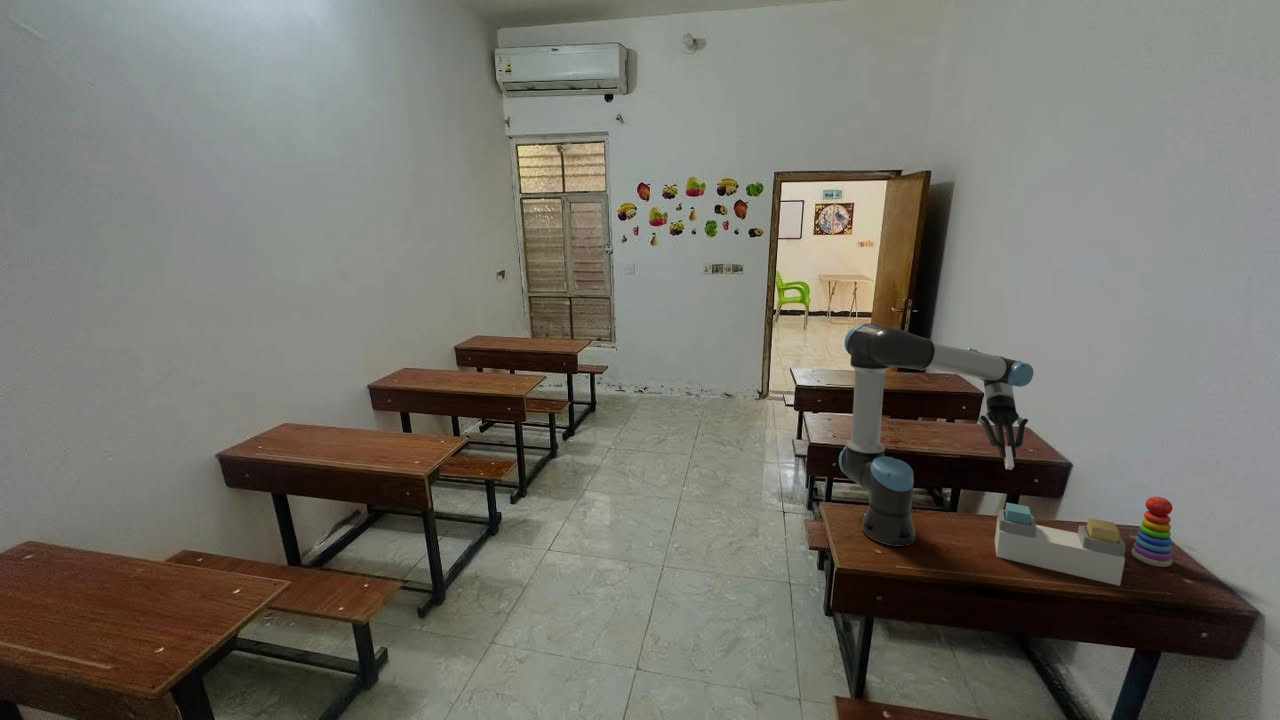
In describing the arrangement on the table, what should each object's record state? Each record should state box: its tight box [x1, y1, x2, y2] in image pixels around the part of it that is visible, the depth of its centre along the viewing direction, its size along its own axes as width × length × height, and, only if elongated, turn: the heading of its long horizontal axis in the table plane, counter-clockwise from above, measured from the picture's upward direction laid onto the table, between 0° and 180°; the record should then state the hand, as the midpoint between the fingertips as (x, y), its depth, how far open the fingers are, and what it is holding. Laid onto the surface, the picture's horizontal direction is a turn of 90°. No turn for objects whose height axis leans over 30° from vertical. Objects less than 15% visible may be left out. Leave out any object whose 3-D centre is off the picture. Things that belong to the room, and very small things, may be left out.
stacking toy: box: [1130, 496, 1173, 568], centre depth 135 cm, size 8×8×19 cm
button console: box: [994, 509, 1127, 587], centre depth 136 cm, size 26×9×11 cm, turn 58°
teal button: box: [1004, 502, 1032, 525], centre depth 140 cm, size 5×5×4 cm
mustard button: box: [1086, 517, 1120, 543], centre depth 130 cm, size 5×5×4 cm
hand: (1009, 467), depth 149 cm, fingers closed
